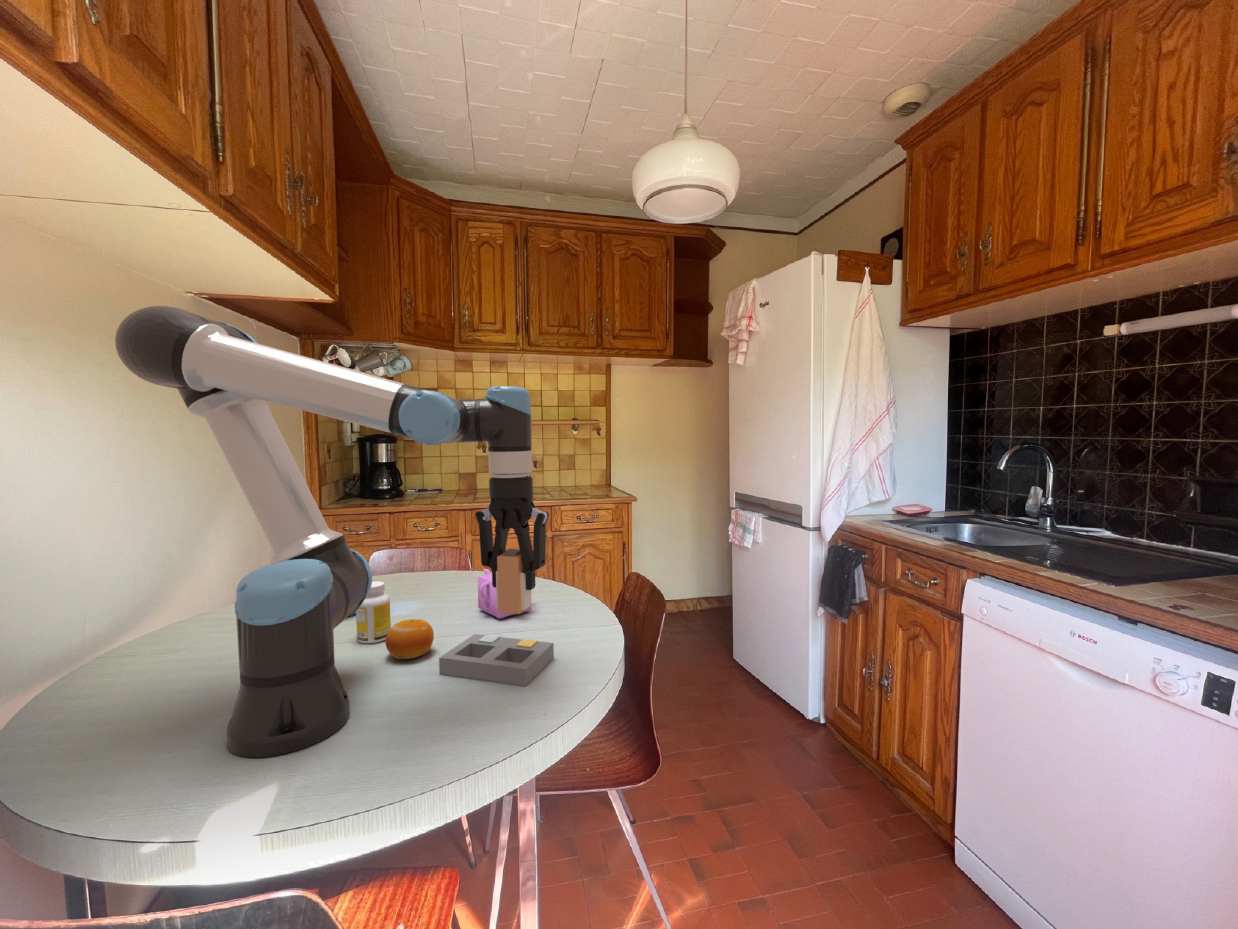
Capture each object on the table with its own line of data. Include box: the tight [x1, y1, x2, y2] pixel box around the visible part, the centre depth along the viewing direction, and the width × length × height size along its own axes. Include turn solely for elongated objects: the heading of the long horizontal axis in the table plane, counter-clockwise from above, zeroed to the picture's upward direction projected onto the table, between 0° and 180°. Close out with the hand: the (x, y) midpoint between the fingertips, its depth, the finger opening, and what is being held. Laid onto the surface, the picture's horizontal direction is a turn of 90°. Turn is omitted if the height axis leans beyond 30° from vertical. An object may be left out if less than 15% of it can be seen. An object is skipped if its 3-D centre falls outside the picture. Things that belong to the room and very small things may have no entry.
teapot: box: [477, 568, 532, 619], centre depth 126 cm, size 18×14×10 cm
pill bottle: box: [355, 580, 392, 644], centre depth 109 cm, size 6×6×12 cm
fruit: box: [384, 618, 435, 660], centre depth 101 cm, size 8×8×8 cm
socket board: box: [438, 633, 555, 687], centre depth 96 cm, size 12×17×3 cm
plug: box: [497, 548, 529, 615], centre depth 93 cm, size 4×4×11 cm
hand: (514, 606), depth 93 cm, fingers closed on plug, 4 cm apart
